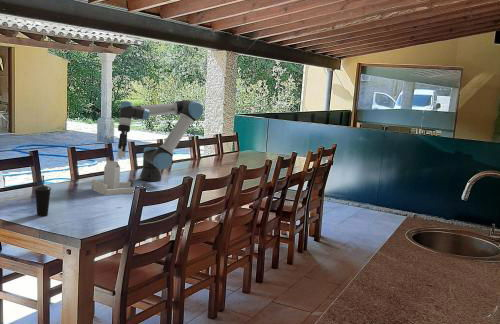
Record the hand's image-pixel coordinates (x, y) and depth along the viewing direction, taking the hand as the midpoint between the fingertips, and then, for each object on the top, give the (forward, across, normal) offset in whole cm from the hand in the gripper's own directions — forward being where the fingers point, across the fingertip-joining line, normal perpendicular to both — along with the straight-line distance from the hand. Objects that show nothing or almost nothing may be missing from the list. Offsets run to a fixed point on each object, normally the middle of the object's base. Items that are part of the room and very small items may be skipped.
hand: (121, 157), depth 320 cm
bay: (+21, +4, 0) cm, 21 cm away
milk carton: (+22, +5, -5) cm, 23 cm away
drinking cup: (+38, +56, -43) cm, 81 cm away
